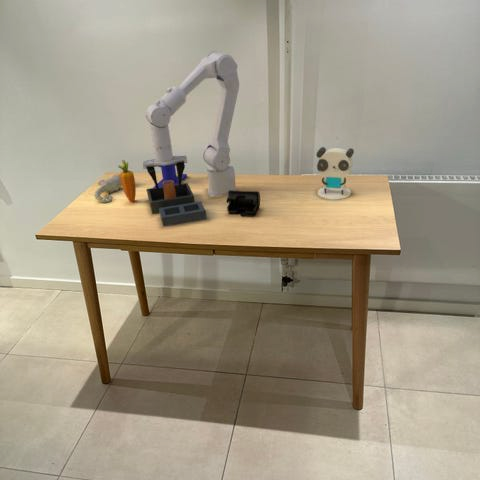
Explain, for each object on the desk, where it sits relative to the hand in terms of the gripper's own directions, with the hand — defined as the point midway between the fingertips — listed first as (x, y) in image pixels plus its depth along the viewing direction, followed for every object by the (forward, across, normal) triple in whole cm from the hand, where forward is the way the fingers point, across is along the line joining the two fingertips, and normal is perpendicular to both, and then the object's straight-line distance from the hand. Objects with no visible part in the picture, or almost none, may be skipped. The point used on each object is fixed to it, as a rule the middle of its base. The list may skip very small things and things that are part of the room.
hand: (168, 186), depth 159 cm
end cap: (+7, +22, -15) cm, 28 cm away
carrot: (+7, -13, +7) cm, 16 cm away
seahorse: (+7, -18, +20) cm, 28 cm away
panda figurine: (+7, +55, -12) cm, 57 cm away
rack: (+7, +2, -13) cm, 15 cm away
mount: (+7, +2, +20) cm, 21 cm away
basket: (+7, 0, 0) cm, 7 cm away
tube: (+6, 0, 0) cm, 6 cm away
